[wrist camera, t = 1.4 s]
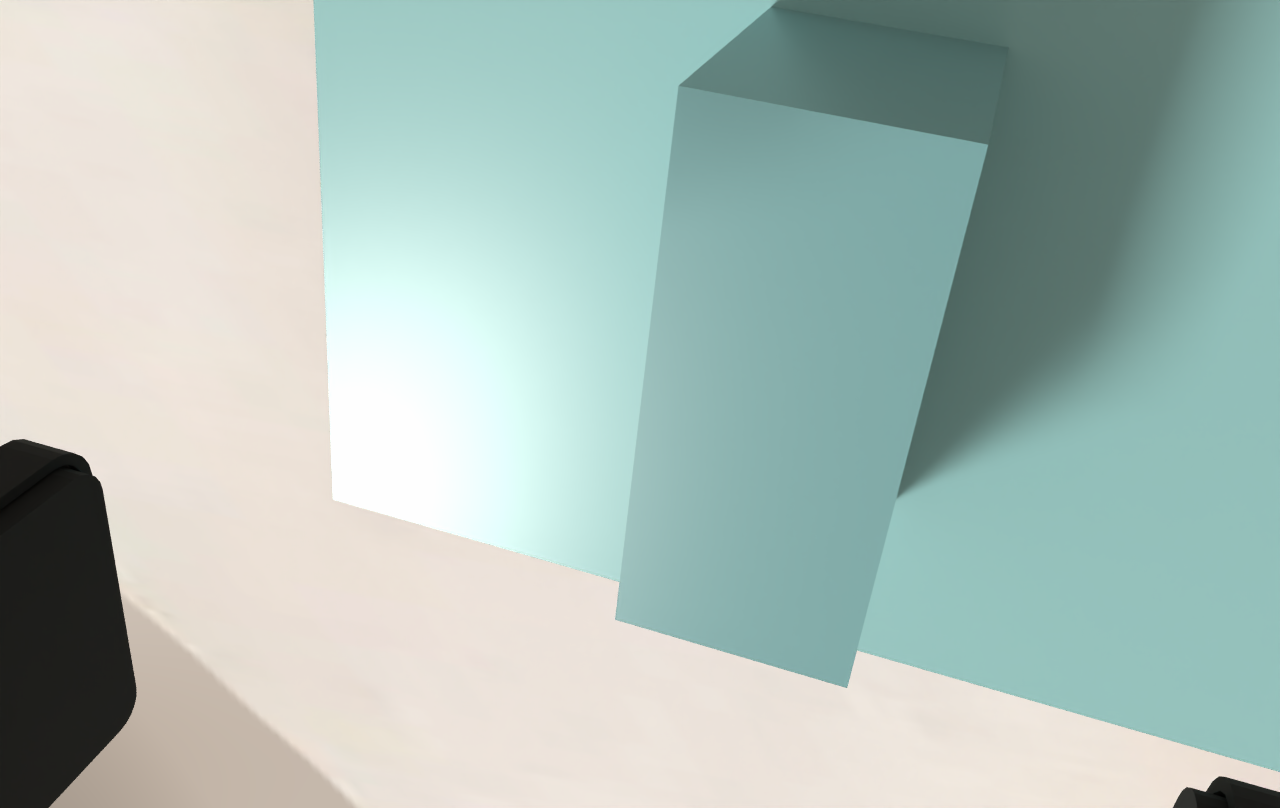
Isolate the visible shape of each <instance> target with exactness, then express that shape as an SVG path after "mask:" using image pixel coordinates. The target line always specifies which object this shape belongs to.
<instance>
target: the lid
mask: <svg viewBox="0 0 1280 808" xmlns="http://www.w3.org/2000/svg"><path fill="white" fill-rule="evenodd" d="M314 22H315V48H316V74H317V100H318V126H319V151H320V177H321V203H322V229H323V254H324V280H325V306H326V332H327V358H328V383H329V409H330V435H331V461H332V487H333V500H337V501H340V502H344V503H347V504H351V505H354V506H357V507H361V508H364V509H368V510H371V511H375V512H378V513H382V514H385V515H389V516H392V517H396V518H399V519H403V520H406V521H410V522H413V523H417V524H420V525H424V526H427V527H430V528H434V529H437V530H441V531H444V532H448V533H451V534H455V535H458V536H462V537H465V538H469V539H472V540H476V541H479V542H483V543H486V544H490V545H493V546H496V547H500V548H503V549H507V550H510V551H514V552H517V553H521V554H524V555H528V556H531V557H535V558H538V559H542V560H545V561H549V562H552V563H556V564H559V565H563V566H566V567H569V568H573V569H576V570H580V571H583V572H587V573H590V574H594V575H597V576H601V577H604V578H608V579H611V580H615V581H618V582H620V583H619V592H618V600H617V608H616V617H615V620H618V621H622V622H625V623H629V624H632V625H635V626H639V627H642V628H646V629H649V630H652V631H656V632H659V633H662V634H666V635H669V636H673V637H676V638H679V639H683V640H686V641H690V642H693V643H696V644H700V645H703V646H707V647H710V648H713V649H717V650H720V651H723V652H727V653H730V654H734V655H737V656H740V657H744V658H747V659H751V660H754V661H757V662H761V663H764V664H767V665H771V666H774V667H778V668H781V669H784V670H788V671H791V672H795V673H798V674H801V675H805V676H808V677H812V678H815V679H818V680H822V681H825V682H828V683H832V684H835V685H839V686H842V687H845V688H847V686H848V682H849V679H850V675H851V671H852V667H853V663H854V659H855V655H856V652H857V650H858V651H861V652H865V653H868V654H872V655H875V656H879V657H882V658H886V659H889V660H893V661H896V662H900V663H903V664H907V665H910V666H913V667H917V668H920V669H924V670H927V671H931V672H934V673H938V674H941V675H945V676H948V677H952V678H955V679H959V680H962V681H966V682H969V683H973V684H976V685H980V686H983V687H986V688H990V689H993V690H997V691H1000V692H1004V693H1007V694H1011V695H1014V696H1018V697H1021V698H1025V699H1028V700H1032V701H1035V702H1039V703H1042V704H1046V705H1049V706H1053V707H1056V708H1059V709H1063V710H1066V711H1070V712H1073V713H1077V714H1080V715H1084V716H1087V717H1091V718H1094V719H1098V720H1101V721H1105V722H1108V723H1112V724H1115V725H1119V726H1122V727H1125V728H1129V729H1132V730H1136V731H1139V732H1143V733H1146V734H1150V735H1153V736H1157V737H1160V738H1164V739H1167V740H1171V741H1174V742H1178V743H1181V744H1185V745H1188V746H1192V747H1195V748H1198V749H1202V750H1205V751H1209V752H1212V753H1216V754H1219V755H1223V756H1226V757H1230V758H1233V759H1237V760H1240V761H1244V762H1247V763H1251V764H1254V765H1258V766H1261V767H1264V768H1268V769H1271V770H1275V771H1278V772H1280V0H314Z"/></svg>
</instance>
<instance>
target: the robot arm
mask: <svg viewBox="0 0 1280 808" xmlns="http://www.w3.org/2000/svg"><path fill="white" fill-rule="evenodd" d="M135 700H136V683H135V677H134V671H133V665H132V660H131V654H130V648H129V643H128V636H127V630H126V624H125V618H124V613H123V607H122V601H121V595H120V589H119V583H118V577H117V571H116V565H115V559H114V554H113V548H112V542H111V536H110V530H109V524H108V518H107V512H106V506H105V501H104V495H103V489H102V486H101V483H100V481H99V480H98V479H97V478H96V477H95V476H92V472H91V469H90V466H89V464H88V463H87V461H86V460H85V459H84V458H83V457H82V456H80V455H77V454H74V453H71V452H67V451H64V450H60V449H57V448H53V447H50V446H46V445H43V444H39V443H35V442H32V441H28V440H25V439H20V440H12V441H10V442H8V443H6V444H4V445H2V446H0V808H49V807H50V806H51V804H52V803H53V802H54V801H55V800H56V799H57V798H58V797H59V796H60V795H61V794H62V793H63V792H64V790H65V789H66V788H67V787H68V786H69V785H70V784H71V783H72V782H73V781H74V780H75V779H76V778H77V777H78V776H79V774H80V773H81V772H82V771H83V770H84V769H85V768H86V767H87V766H88V765H89V764H90V762H92V761H93V759H94V758H95V757H96V756H97V755H98V754H99V753H100V752H101V751H102V750H103V749H104V748H105V747H106V746H107V744H108V743H109V742H110V741H111V740H112V739H113V738H114V737H115V736H116V735H117V734H118V733H119V731H120V730H121V729H122V728H123V726H124V725H125V724H126V722H127V721H128V719H129V717H130V715H131V713H132V710H133V708H134V705H135ZM1173 808H1280V792H1277V791H1273V790H1270V789H1266V788H1263V787H1259V786H1255V785H1252V784H1248V783H1245V782H1241V781H1238V780H1234V779H1231V778H1227V777H1220V776H1219V777H1218V778H1216V779H1215V780H1214V781H1213V782H1212V783H1211V785H1210V786H1209V788H1208V789H1207V791H1206V792H1204V791H1200V790H1197V789H1193V788H1188V787H1187V788H1185V789H1184V790H1183V791H1182V792H1181V794H1180V795H1179V797H1178V799H1177V801H1176V803H1175V805H1174V807H1173Z"/></svg>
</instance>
